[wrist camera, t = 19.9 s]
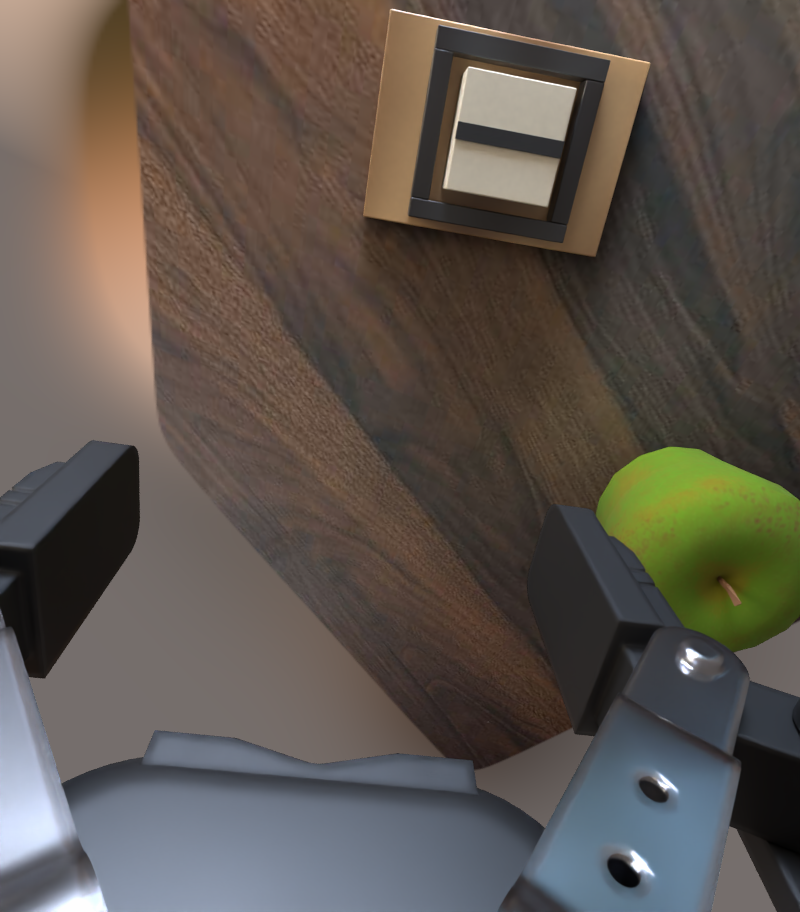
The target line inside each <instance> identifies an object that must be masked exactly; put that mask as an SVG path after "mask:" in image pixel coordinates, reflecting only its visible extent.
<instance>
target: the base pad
mask: <svg viewBox="0 0 800 912" xmlns="http://www.w3.org/2000/svg"><path fill="white" fill-rule="evenodd" d="M468 67H473V68H478V69H483V70H488V71H493V72H498V73H503V74H508V75H513V76H518V77H523V78H528V79H533V80H538V81H543V82H548V83H553V84H558V85H563V86H568V87H573V88H576V89H577V91H576V95H575V99H574V103H573V107H572V111H571V115H570V119H569V123H568V128H567V132H566V136H565V140H564V141H565V143H564V147H563V151H562V155H561V159H560V160H559V164H558V168H557V172H556V176H555V180H554V184H553V188H552V193H551V197H550V201H549V205H548V207H547V208H546V207H540V206H534V205H529V204H523V203H518V202H512V201H507V200H501V199H496V198H490V197H485V196H479V195H474V194H468V193H463V192H457V191H452V190H446V189H442V184H443V178H444V173H445V167H446V161H447V156H448V150H449V144H450V139H451V133H452V127H453V122H454V116H455V110H456V105H457V99H458V94H459V88H460V82H461V77H462V75H463V73H464V72H465V71H466V69H467V68H468ZM649 67H650V63H649V62H644V61H640V60H635V59H630V58H625V57H620V56H616V55H611V54H606V53H601V52H596V51H591V50H587V49H582V48H577V47H572V46H567V45H563V44H558V43H553V42H548V41H543V40H539V39H534V38H529V37H524V36H519V35H514V34H510V33H505V32H500V31H495V30H490V29H486V28H481V27H476V26H471V25H466V24H462V23H457V22H452V21H447V20H442V19H438V18H433V17H428V16H423V15H418V14H413V13H409V12H404V11H399V10H394V9H391V10H390V14H389V22H388V29H387V37H386V44H385V52H384V60H383V67H382V75H381V83H380V90H379V98H378V106H377V113H376V121H375V129H374V136H373V144H372V152H371V159H370V167H369V175H368V182H367V190H366V197H365V205H364V213H363V216H364V217H368V218H374V219H379V220H385V221H391V222H397V223H402V224H408V225H414V226H419V227H425V228H431V229H436V230H442V231H448V232H453V233H459V234H465V235H471V236H476V237H482V238H488V239H493V240H499V241H505V242H510V243H516V244H522V245H527V246H533V247H539V248H545V249H550V250H556V251H562V252H567V253H573V254H579V255H584V256H590V257H595V256H596V253H597V250H598V246H599V243H600V239H601V236H602V232H603V229H604V225H605V222H606V218H607V215H608V211H609V208H610V204H611V201H612V197H613V194H614V190H615V187H616V183H617V180H618V176H619V172H620V169H621V165H622V162H623V158H624V155H625V151H626V148H627V144H628V141H629V137H630V134H631V130H632V127H633V123H634V120H635V116H636V113H637V109H638V106H639V102H640V99H641V95H642V92H643V88H644V85H645V81H646V78H647V74H648V71H649Z"/></svg>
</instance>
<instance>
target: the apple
mask: <svg viewBox="0 0 800 912" xmlns="http://www.w3.org/2000/svg"><path fill="white" fill-rule="evenodd" d="M596 517H597V519H598V520H599V522H600V523H601V525H602V526H603V528H604V530H605V531H606V533H607V534H608V536H614V537H615V538H617V539H618V540H619V541H620V542H622V543H623V544H624V545H625V546H627V547H628V548H629V549H630V550H632V551H633V552H634V553H635V554H636V556H637V557H638V559H639V560H640V562H641V563H642V565H643V566H644V568H645V569H646V570H645V573H648V574H649V575H650V577H651V578H652V580H653V581H654V583H655V587H658V589H659V590H660V592H661V593H662V595H663V596H664V597H665V599H666V600H667V602H668V603H669V605H670V606H671V608H672V609H673V611H674V612H675V614H676V615H677V617H678V618H679V620H680V621H681V623H682V624H683V626H684V627H685V628H688V629H692V630H695V631H698V632H700V633H703V634H705V635H707V636H709V637H711V638H713V639H715V640H716V641H718V642H720V643H721V644H723V645H724V646H726V647H727V648H728V649H729V650H731V651H732V652H735V651H739V650H743V649H747V648H752V647H755V646H757V645H759V644H761V643H763V642H764V641H766V640H768V639H770V638H772V637H774V636H776V635H778V634H779V633H781V632H783V631H785V630H787V629H788V628H789V627H790V626H791V625H792V624H793V622H794V621H795V620H796V619H797V618H798V617H799V616H800V501H799V499H797V498H796V497H795V496H793V495H792V494H791V493H789V492H788V491H787V490H785V489H784V488H783V487H781V486H780V485H777V484H775V483H772V482H770V481H768V480H765V479H763V478H760V477H758V476H756V475H753V474H751V473H749V472H746V471H744V470H742V469H739V468H737V467H735V466H732V465H730V464H728V463H725V462H723V461H721V460H719V459H717V458H715V457H713V456H711V455H709V454H707V453H705V452H703V451H701V450H699V449H690V448H680V447H667V448H664V449H660V450H657V451H654V452H651V453H648V454H644V455H641V456H639V457H638V458H636V459H635V460H633V461H632V462H631V463H629V464H628V465H627V466H625V467H624V468H622V469H621V470H620V471H618V472H617V473H615V474H614V476H613V477H612V479H611V481H610V482H609V484H608V486H607V487H606V489H605V491H604V492H603V494H602V496H601V497H600V499H599V503H598V507H597V511H596Z"/></svg>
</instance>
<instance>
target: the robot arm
mask: <svg viewBox="0 0 800 912" xmlns="http://www.w3.org/2000/svg"><path fill="white" fill-rule="evenodd" d="M139 508H140V502H139V456H138V451H137V449H136V448H135V446H131V445H123V444H115V443H109V442H101V441H94V440H93V441H90V442H88V443H87V444H86V445H85V446H84V447H83V448H82V449H81V450H79V451H78V452H77V453H76V454H75V455H74V456H73V457H72V458H70V459H69V460H68V461H67V462H66V463H63V462H55V463H53V464H50V465H48V466H46V467H43V468H41V469H38V470H36V471H33V472H31V473H30V474H28V475H27V476H26V477H24V478H23V479H22V480H21V481H20V482H18V483H17V484H16V485H15V486H14V487H12V491H10V490H9V491H7V492H6V493H5V494H4V495H3V496H1V497H0V912H711V910H712V904H713V900H714V895H715V890H716V886H717V881H718V876H719V872H720V867H721V862H722V857H723V853H724V848H725V843H726V838H727V834H728V829H729V826H731V827H733V828H736V829H737V831H738V833H739V835H740V837H741V839H742V841H743V843H744V845H745V847H746V849H747V852H748V853H749V856H750V858H751V860H752V862H753V864H754V866H755V868H756V870H757V872H758V874H759V876H760V878H761V880H762V882H763V884H764V886H765V888H766V890H767V892H768V894H769V896H770V898H771V901H772V903H773V905H774V907H775V908H776V911H777V912H800V697H796V696H794V695H791V694H788V693H784V692H781V691H779V690H776V689H772V688H769V687H767V686H764V685H761V684H758V683H755V682H752V681H750V678H749V674H748V671H747V669H746V667H745V666H744V664H743V663H742V662H741V660H740V659H739V658H738V657H737V656H736V655H735V654H734V653H733V652H732V651H731V650H729V649H728V648H727V647H726V646H724V645H723V644H721V643H720V642H718V641H716V640H715V639H713V638H711V637H709V636H707V635H705V634H703V633H700V632H698V631H695V630H692V629H688V628H685V627H684V626H683V624H682V623H681V621H680V620H679V618H678V617H677V615H676V614H675V612H674V611H673V609H672V608H671V606H670V605H669V603H668V602H667V600H666V599H665V597H664V596H663V595H662V593H661V592H660V590H659V589H658V587H655V583H654V581H653V580H652V578H651V577H650V575H649V574H648V573H645V570H646V569H645V568H644V566H643V565H642V563H641V562H640V560H639V559H638V557H637V556H636V554H635V553H634V552H633V551H632V550H630V549H629V548H628V547H627V546H625V545H624V544H623V543H622V542H620V541H619V540H618V539H617V538H615V537H614V536H608V534H607V533H606V531H605V530H604V528H603V526H602V525H601V523H600V522H599V520H598V519H597V517H596V515H595V514H594V512H593V511H592V510H591V509H586V508H579V507H571V506H564V505H557V504H553V505H551V506H550V508H549V509H548V511H547V513H546V516H545V519H544V523H543V526H542V529H541V532H540V536H539V539H538V542H537V546H536V549H535V552H534V555H533V559H532V562H531V565H530V569H529V573H528V581H527V593H528V599H529V603H530V606H531V608H532V611H533V614H534V617H535V620H536V623H537V626H538V629H539V632H540V634H541V637H542V640H543V643H544V646H545V649H546V652H547V655H548V657H549V660H550V663H551V666H552V669H553V672H554V675H555V678H556V681H557V683H558V686H559V689H560V692H561V695H562V698H563V701H564V704H565V707H566V709H567V712H568V715H569V718H570V721H571V724H572V727H573V730H574V733H575V734H579V735H589V736H594V738H593V740H592V742H591V744H590V746H589V748H588V749H587V751H586V753H585V755H584V757H583V759H582V761H581V762H580V765H579V766H578V768H577V770H576V772H575V774H574V776H573V777H572V779H571V781H570V783H569V785H568V787H567V789H566V790H565V792H564V794H563V796H562V798H561V800H560V802H559V804H558V805H557V807H556V809H555V811H554V813H553V815H552V817H551V819H550V820H549V822H548V824H547V826H546V828H544V827H543V826H542V825H541V824H540V823H538V822H537V821H536V820H534V819H533V818H531V817H530V816H529V815H528V814H526V813H525V812H524V811H522V810H521V809H519V808H517V807H515V806H514V805H512V804H510V803H509V802H507V801H506V800H504V799H502V798H500V797H497V796H495V795H493V794H491V793H489V792H486V791H484V790H481V789H479V788H477V786H476V780H475V773H474V767H473V761H472V760H462V759H451V758H440V757H430V756H419V755H409V754H399V753H397V754H389V755H382V756H375V757H367V758H360V759H354V760H347V761H339V762H332V763H325V764H314V763H309V762H306V761H302V760H300V759H297V758H294V757H290V756H288V755H285V754H282V753H279V752H276V751H273V750H270V749H267V748H264V747H261V746H258V745H255V744H252V743H249V742H246V741H243V740H240V739H237V738H231V737H221V736H210V735H200V734H189V733H178V732H168V731H158V730H155V731H154V733H153V736H152V738H151V741H150V743H149V746H148V748H147V750H146V753H145V755H144V757H142V758H136V759H130V760H125V761H122V762H118V763H113V764H109V765H106V766H103V767H100V768H97V769H94V770H91V771H88V772H86V773H84V774H81V775H79V776H77V777H75V778H72V779H70V780H68V781H66V782H64V783H61V780H60V777H59V773H58V770H57V767H56V764H55V761H54V758H53V755H52V751H51V748H50V745H49V742H48V738H47V735H46V732H45V729H44V725H43V722H42V719H41V716H40V712H39V709H38V706H37V703H36V700H35V696H34V693H33V690H32V687H31V684H30V680H29V677H34V678H45V677H46V676H47V674H48V673H49V672H50V670H51V669H52V667H53V666H54V664H55V663H56V661H57V659H58V658H59V657H60V655H61V654H62V652H63V651H64V649H65V648H66V646H67V645H68V644H69V642H70V641H71V639H72V638H73V636H74V635H75V633H76V632H77V630H78V629H79V627H80V626H81V624H82V623H83V621H84V620H85V619H86V617H87V616H88V614H89V613H90V611H91V610H92V608H93V607H94V605H95V604H96V602H97V601H98V599H99V598H100V597H101V595H102V594H103V592H104V591H105V589H106V588H107V586H108V585H109V583H110V581H111V580H112V579H113V577H114V576H115V574H116V573H117V572H118V570H119V569H120V567H121V566H122V564H123V563H124V561H125V559H126V558H127V557H128V555H129V554H130V552H131V551H132V549H133V546H134V544H135V542H136V538H137V535H138V529H139V522H140V509H139Z"/></svg>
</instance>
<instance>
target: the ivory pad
mask: <svg viewBox="0 0 800 912" xmlns="http://www.w3.org/2000/svg"><path fill="white" fill-rule="evenodd" d="M576 91H577V89H576V88H573V87H568V86H563V85H558V84H553V83H548V82H543V81H538V80H533V79H528V78H523V77H518V76H513V75H508V74H503V73H498V72H493V71H488V70H483V69H478V68H473V67H468V68H467V69H466V71H465V72H464V73H463V75H462V77H461V82H460V88H459V94H458V99H457V105H456V110H455V116H454V122H453V127H452V133H451V139H450V144H449V150H448V156H447V161H446V167H445V173H444V178H443V184H442V189H446V190H452V191H457V192H463V193H468V194H474V195H479V196H485V197H490V198H496V199H501V200H507V201H512V202H518V203H523V204H529V205H534V206H540V207H546V208H547V207H548V205H549V201H550V197H551V193H552V188H553V184H554V180H555V176H556V172H557V168H558V164H559V160H560V159H561V155H562V151H563V147H564V143H565V141H564V140H565V136H566V132H567V128H568V123H569V119H570V115H571V111H572V107H573V103H574V99H575V95H576Z"/></svg>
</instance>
